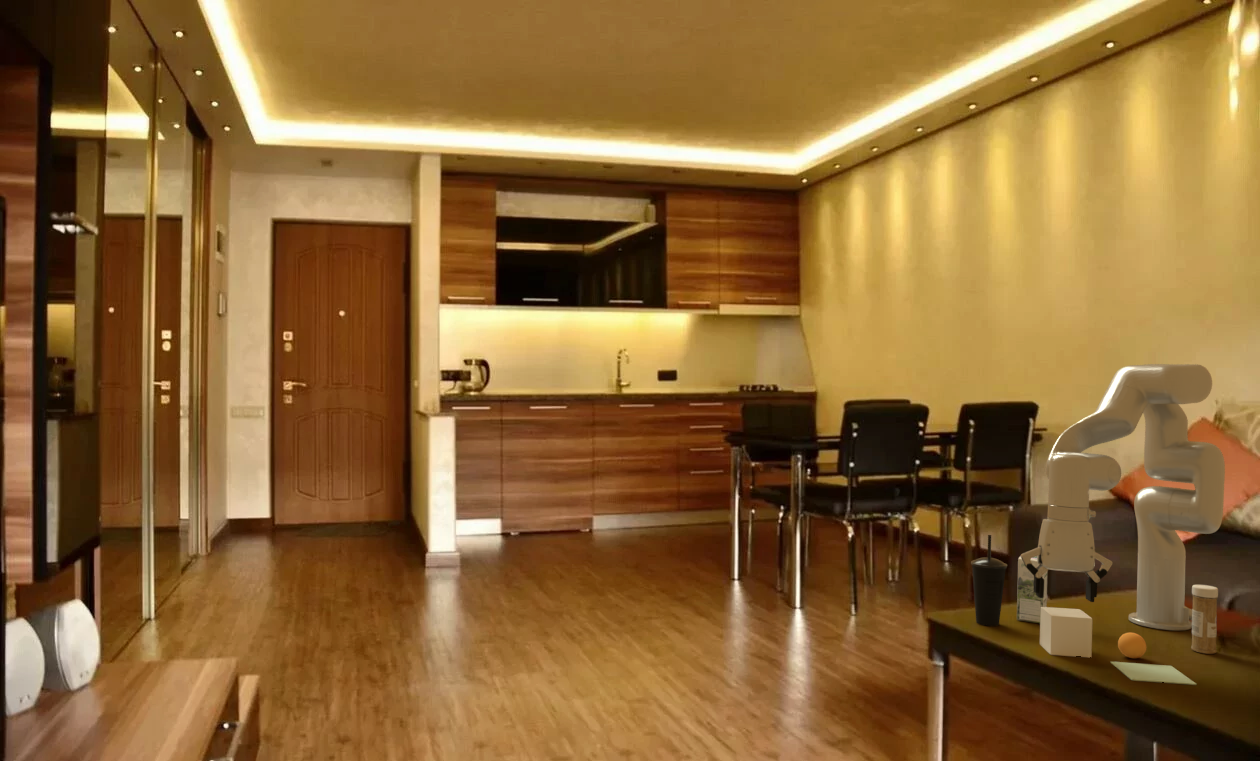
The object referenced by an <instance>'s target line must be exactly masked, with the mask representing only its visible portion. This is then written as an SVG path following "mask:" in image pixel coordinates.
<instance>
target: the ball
mask: <svg viewBox="0 0 1260 761" xmlns="http://www.w3.org/2000/svg"><path fill="white" fill-rule="evenodd" d="M1117 647H1118V649H1119V651H1120V653H1121V654H1122V655H1123V656H1125V657H1127V658H1129V659H1139V658H1141V657H1143V656H1144V655H1145V653H1146V651H1147V643H1146V641H1145V639H1144V638H1143V637H1142V636H1141V635H1140V634H1138V633H1135V632H1125V633H1123V634H1122V635H1121V636H1119V639H1118V641H1117Z"/></svg>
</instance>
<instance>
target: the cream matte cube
mask: <svg viewBox="0 0 1260 761" xmlns="http://www.w3.org/2000/svg"><path fill="white" fill-rule="evenodd" d="M1039 645H1040V646H1041V647H1042V648H1043V649H1044V650H1045V651H1046V652H1047V653H1048V654H1049V655H1051V656H1063V657H1064V656H1065V657H1076V656H1081V657H1080V658H1090V657H1091V658H1092V652H1093V651H1092V650H1093V649H1092V648H1093V647H1092V646H1093V618H1092V617H1091V616H1090V615H1088V614H1087V613H1085V611H1083V610H1082V609H1079V608H1065V607H1053V606H1050V607H1049V606H1046V607H1041V611H1040V623H1039Z"/></svg>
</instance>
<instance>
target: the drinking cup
mask: <svg viewBox="0 0 1260 761" xmlns="http://www.w3.org/2000/svg"><path fill="white" fill-rule="evenodd" d="M991 555H992V535H991V534H988V535H987V556H986V557H985V556H984V557H980V558H976V559H973V560H971V561H970V564H971V567H972V578H973V593H974V594H973V595H974V610H975V622H976V624H979V625H982V626H987V627H997V626H999V625H1000V621H1001V620H1000V617H1001V610H1002V602H1003V593H1004V586H1005V577H1006V570H1007V568H1008V564H1007V563H1004V562H1003V561H1002V560H999V559H997V558H994V557H992V556H991Z"/></svg>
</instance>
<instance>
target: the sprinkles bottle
mask: <svg viewBox="0 0 1260 761" xmlns="http://www.w3.org/2000/svg"><path fill="white" fill-rule="evenodd" d="M1191 595H1192V608H1191V609H1192V620H1191V623H1192V628H1191V637H1192V638H1191V646H1190V649H1191V651H1194V652H1197V653H1200V654H1206V655H1213V654H1216V653H1217V632H1218V631H1217V622H1218V621H1217V619H1218V618H1217V616H1218V615H1217V603H1218V601H1217V600H1218V597H1219V589H1218V587H1216V586H1213V585H1207V584H1193V585H1192V587H1191Z"/></svg>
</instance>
